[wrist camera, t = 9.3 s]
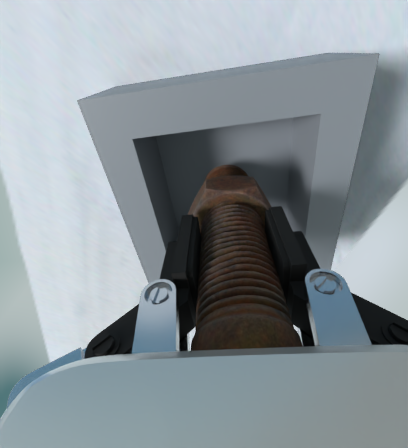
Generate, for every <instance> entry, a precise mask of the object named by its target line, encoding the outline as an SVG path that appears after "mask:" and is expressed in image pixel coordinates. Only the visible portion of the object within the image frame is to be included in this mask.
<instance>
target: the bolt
mask: <svg viewBox="0 0 408 448" xmlns="http://www.w3.org/2000/svg"><path fill="white" fill-rule="evenodd" d="M270 207H271V205H270V203H269V201H268V199H267V198H266V196H265V194H264V193H263V191H262V189H261V188H260V186H259V184H258V183H257V181H256V180H255V178H254V177H250V176H248V175H247V173H246V172H245V171H244V170H242V169H241V168H239V167H238V166H235V165H221V166H218V167H216V168H214V169H212V170H211V171H210V172H209V173H208V174H207V176H206V178H205V181H204V183H203V185H202V186H201V188H200V190H199V192H198V193H197V195H196V197H195V199H194V201H193V203H192V205H191V208H190V210H189V212H188V214H187V215H190V214H193V215H194V217H198V221H199V227H200V232H201V244H200V257H199V259H200V264H199V273H198V298H197V308H196V333H195V336H194V337H193V340H192V343H191V351H200V350H225V349H252V348H280V347H303V345H302V342H301V339H300V336H299V334H298V333H297V331H296V330H295V329H294V327H293V323H292V321H291V316H290V314H289V308H288V306H287V304H286V299H285V297H284V292H283V290H282V287H281V283H280V280H279V276H278V274H277V269H276V267H275V263H274V259H273V257H272V253H271V249H270V247H269V244H268V240H267V236H266V232H265V211H266V210H269V208H270Z"/></svg>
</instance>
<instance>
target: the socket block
mask: <svg viewBox="0 0 408 448" xmlns="http://www.w3.org/2000/svg"><path fill="white" fill-rule="evenodd" d="M378 58H379V54H361V53H324V54H318V55H312V56H306V57H299V58H293V59H287V60H280V61H274V62H268V63H261V64H255V65H249V66H242V67H236V68H230V69H223V70H217V71H211V72H205V73H198V74H192V75H186V76H179V77H173V78H167V79H160V80H154V81H148V82H141V83H135V84H129V85H122V86H116V87H113V88H111V89H108V90H105V91H102V92H99V93H97V94H94V95H91V96H88V97H86V98H83V99H80V100H77V102H78V104H79V107H80V109H81V112H82V114H83V117H84V119H85V122H86V125H87V127H88V130H89V132H90V135H91V137H92V140H93V142H94V145H95V148H96V150H97V153H98V155H99V158H100V160H101V163H102V165H103V168H104V170H105V173H106V176H107V178H108V181H109V183H110V186H111V188H112V191H113V193H114V196H115V199H116V201H117V204H118V206H119V209H120V211H121V214H122V216H123V219H124V221H125V224H126V227H127V229H128V232H129V234H130V237H131V239H132V242H133V244H134V247H135V250H136V252H137V255H138V257H139V260H140V262H141V265H142V267H143V270H144V273H145V275H146V278H147V280H148V283H151V282H153V281H155V280H159V279H160V274H161V270H162V266H163V262H164V258H165V254H166V249H167V245H168V242H171V241H177V239H178V234H179V229H180V224H181V219H182V215H187V214H188V212H189V210H190V208H191V205H192V203H193V201H194V199H195V197H196V195H197V193H198V192H199V190H200V188H201V186H202V185H203V183H204V181H205V178H206V176H207V174H208V173H209V172H210V171H211V170H212V169H214V168H216V167H218V166H221V165H235V166H238V167H239V168H241V169H242V170H244V171H245V172H246V173H247V175H248V176H250V177H254V178H255V180H256V181H257V183H258V184H259V186H260V188H261V189H262V191H263V193H264V194H265V196H266V198H267V199H268V201H269V203H270V205H271V207H276V206H282V208H283V210H284V213H285V215H286V217H287V219H288V222H289V224H290V226H291V228H292V230H293V231H302V233H303V234H304V236H305V238H306V240H307V242H308V244H309V246H310V248H311V250H312V252H313V254H314V256H315V258H316V260H317V262H318V264H319V266H320V269H328V270H331V266H332V261H333V257H334V253H335V248H336V244H337V239H338V235H339V230H340V226H341V222H342V217H343V213H344V208H345V204H346V199H347V195H348V191H349V186H350V182H351V177H352V173H353V168H354V164H355V160H356V155H357V151H358V146H359V142H360V138H361V133H362V129H363V124H364V120H365V115H366V111H367V107H368V102H369V98H370V93H371V89H372V84H373V80H374V76H375V71H376V67H377V62H378Z"/></svg>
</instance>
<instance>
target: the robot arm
mask: <svg viewBox="0 0 408 448" xmlns="http://www.w3.org/2000/svg"><path fill="white" fill-rule="evenodd" d="M265 232H266V236H267V240H268V244H269V247H270V249H271V253H272V257H273V259H274V263H275V267H276V269H277V274H278V276H279V280H280V283H281V287H282V290H283V292H284V297H285V299H286V304H287V306H288V308H289V314H290V316H291V321H292V323H293V325H295V326H296V327H298V334H299V336H300V339H301V342H302V345H303V347H280V348H252V349H225V350H200V351H190V343H189V332H190V331H191V330H192V329H193V328H194V327H195V326H196V308H197V298H198V273H199V264H200V259H199V257H200V244H201V232H200V227H199V221H198V217H194V215H193V214H190V215H182V219H181V224H180V229H179V234H178V239H177V241H171V242H168V245H167V249H166V254H165V258H164V262H163V266H162V270H161V274H160V279H159V280H155V281H153V282H151V283H149V284H148V285H147V286H145V288H144V289H143V290H142V293H141V296H140V302H139V304H138V305H137V306H136V307H134V308H133V309H132V310H130V311H129V312H127V313H126V314H125V315H123V316H122V317H121V318H119V319H118V320H117V321H115V322H114V323H113V324H111V325H110V326H108V327H107V328H106V329H104V330H103V331H102V332H100V333H99V334H98V335H96V336H95V337H94V338H93V339H92V340H91V342H90V343H89V344H88V346H87V348H85V349H83V350H82V349H81V347H80V348H78V349H76V350H74V351H72V352H70V353H68V354H66V355H65V356H63V357H61V358H59V359H57V360H55V361H53V362H51V363H49V364H47V365H45V366H43V367H41V368H39V369H37V370H35V371H33V372H31V373H29V374H27V375H26V376H24V377H23V378H22V379H21V380H20V381H19V382H18V383H17V384H16V385H15V386H14V388H13V389H12V391H11V392H10V395H9V398H8V403H7V409H6V411H5V412H4V414H3V415H2V417H1V418H0V448H408V320H406V319H404V318H401V317H400V316H398V315H396V314H394V313H391V312H390V311H387V310H385V309H383V308H381V307H379V306H377V305H375V304H373V303H371V302H369V301H367V300H365V299H363V298H361V297H359V296H357V295H355V294H353V293H351V292H350V290H349V287H348V285H347V283H346V281H345V279H344V278H343V277H342V276H340V275H339V274H338V273H336V272H334V271H331V270H328V269H320V266H319V264H318V262H317V260H316V258H315V256H314V254H313V252H312V250H311V248H310V246H309V244H308V242H307V240H306V238H305V236H304V234H303V233H302V231H293V230H292V228H291V226H290V224H289V222H288V219H287V217H286V215H285V213H284V210H283V208H282V206H276V207H270V208H269V210H266V211H265Z"/></svg>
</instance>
